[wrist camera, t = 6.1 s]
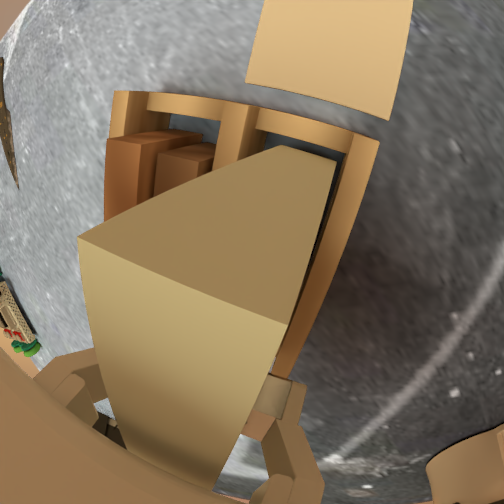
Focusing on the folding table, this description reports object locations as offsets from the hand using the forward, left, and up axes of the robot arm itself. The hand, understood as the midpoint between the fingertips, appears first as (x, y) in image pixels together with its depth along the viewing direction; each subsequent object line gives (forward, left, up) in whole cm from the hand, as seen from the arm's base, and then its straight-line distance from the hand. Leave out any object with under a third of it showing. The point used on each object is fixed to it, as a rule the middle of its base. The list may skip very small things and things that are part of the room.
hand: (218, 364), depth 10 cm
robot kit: (+50, +33, -13) cm, 61 cm away
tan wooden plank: (0, 0, -9) cm, 9 cm away
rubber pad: (0, -17, -12) cm, 21 cm away
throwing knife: (+37, -4, -13) cm, 40 cm away
